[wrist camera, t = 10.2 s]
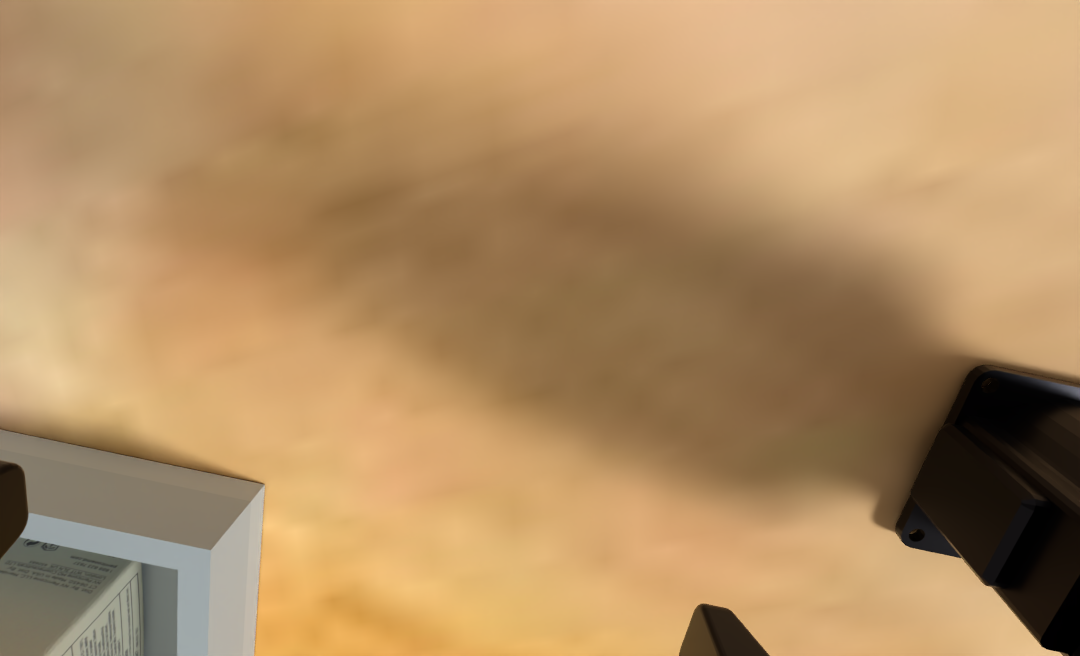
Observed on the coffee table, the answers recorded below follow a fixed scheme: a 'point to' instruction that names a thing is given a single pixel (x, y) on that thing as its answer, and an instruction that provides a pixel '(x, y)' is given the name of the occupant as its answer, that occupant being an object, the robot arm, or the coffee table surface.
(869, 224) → the coffee table surface
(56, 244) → the coffee table surface
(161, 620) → the seat tray
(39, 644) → the skincare box
